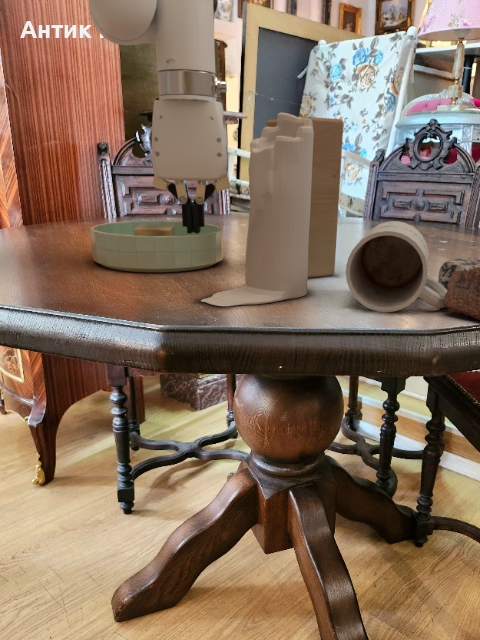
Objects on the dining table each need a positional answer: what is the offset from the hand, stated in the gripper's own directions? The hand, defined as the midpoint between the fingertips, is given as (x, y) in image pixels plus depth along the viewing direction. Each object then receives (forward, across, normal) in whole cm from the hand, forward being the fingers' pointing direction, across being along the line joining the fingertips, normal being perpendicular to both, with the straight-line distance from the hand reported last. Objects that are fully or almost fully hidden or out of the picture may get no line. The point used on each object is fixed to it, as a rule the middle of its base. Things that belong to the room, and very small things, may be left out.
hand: (194, 232), depth 81 cm
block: (+4, +5, +1) cm, 7 cm away
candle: (+5, -9, +18) cm, 21 cm away
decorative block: (+5, -15, +2) cm, 16 cm away
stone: (+4, -33, +24) cm, 41 cm away
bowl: (+5, +6, -3) cm, 8 cm away
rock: (+5, -41, +16) cm, 44 cm away
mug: (+2, -27, +15) cm, 31 cm away
